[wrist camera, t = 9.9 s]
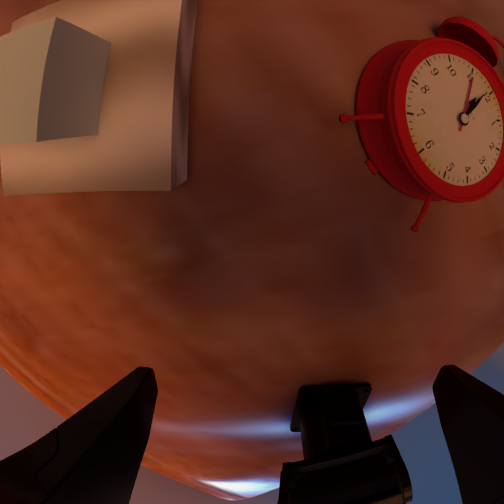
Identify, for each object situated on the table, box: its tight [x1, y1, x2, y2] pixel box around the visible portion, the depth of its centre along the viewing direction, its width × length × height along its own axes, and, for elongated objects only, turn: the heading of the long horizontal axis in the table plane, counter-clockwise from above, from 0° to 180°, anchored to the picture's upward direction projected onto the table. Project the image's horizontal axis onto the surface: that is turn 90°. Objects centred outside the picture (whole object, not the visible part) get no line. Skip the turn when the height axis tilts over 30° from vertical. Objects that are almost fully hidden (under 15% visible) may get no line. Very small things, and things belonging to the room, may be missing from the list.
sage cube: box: [0, 17, 111, 145], centre depth 10 cm, size 5×5×5 cm
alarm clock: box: [339, 17, 504, 232], centre depth 13 cm, size 11×6×15 cm
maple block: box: [0, 0, 198, 196], centre depth 14 cm, size 12×12×4 cm
